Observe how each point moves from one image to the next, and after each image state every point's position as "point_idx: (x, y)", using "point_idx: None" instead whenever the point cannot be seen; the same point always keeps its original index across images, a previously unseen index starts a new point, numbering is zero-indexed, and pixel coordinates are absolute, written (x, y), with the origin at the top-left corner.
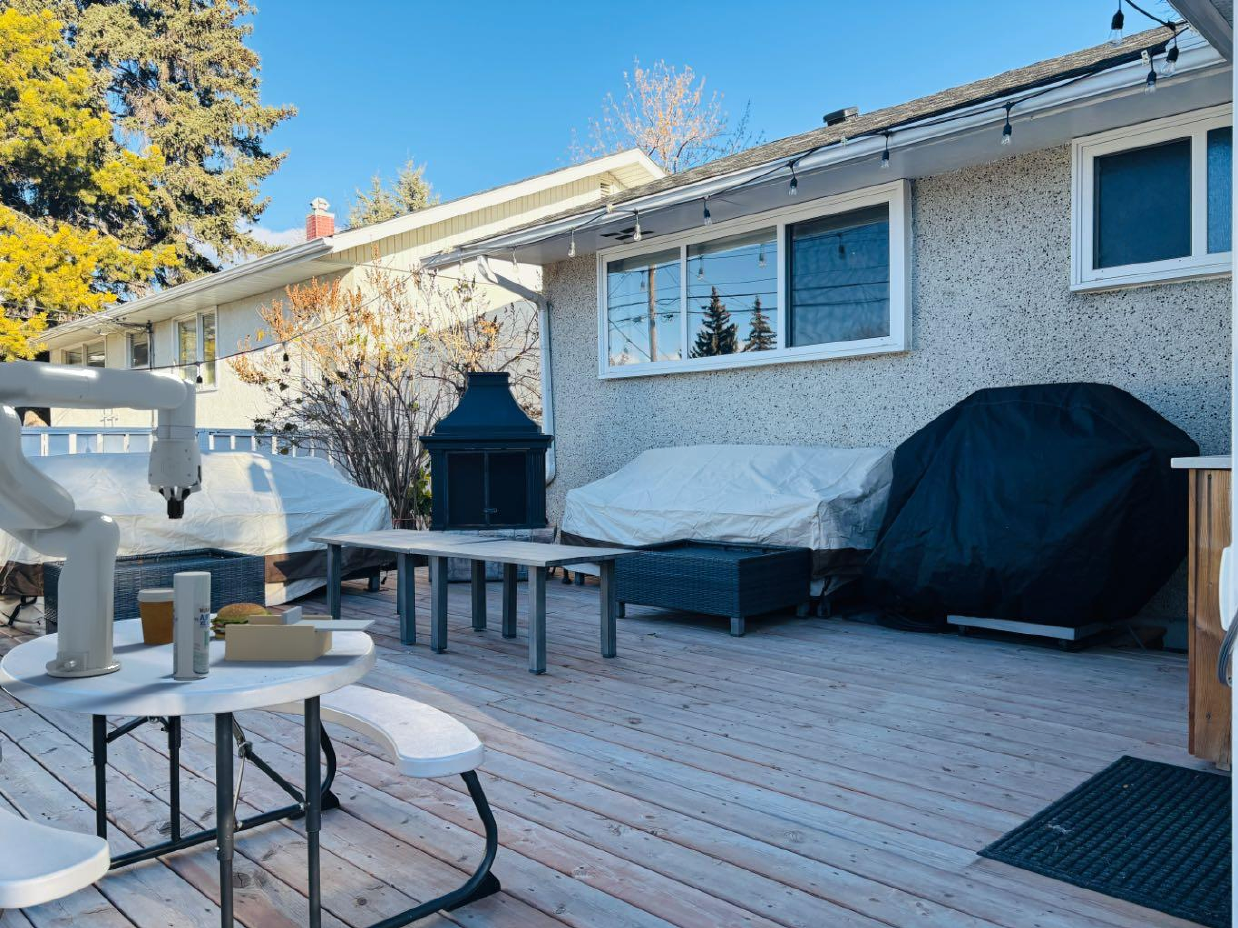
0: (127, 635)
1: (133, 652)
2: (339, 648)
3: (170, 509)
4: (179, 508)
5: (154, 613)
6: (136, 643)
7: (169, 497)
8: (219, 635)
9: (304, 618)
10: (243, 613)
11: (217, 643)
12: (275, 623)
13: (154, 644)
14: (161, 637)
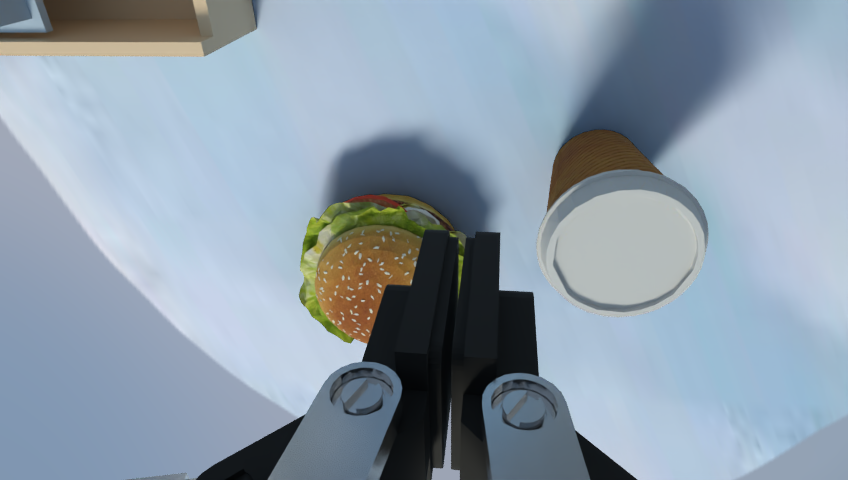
0: (731, 271)
1: (620, 4)
2: (43, 88)
3: (475, 282)
4: (389, 317)
5: (608, 160)
6: (663, 154)
7: (499, 417)
8: (431, 211)
9: (16, 40)
10: (347, 243)
11: (414, 156)
12: (123, 36)
13: (595, 130)
14: (577, 142)
